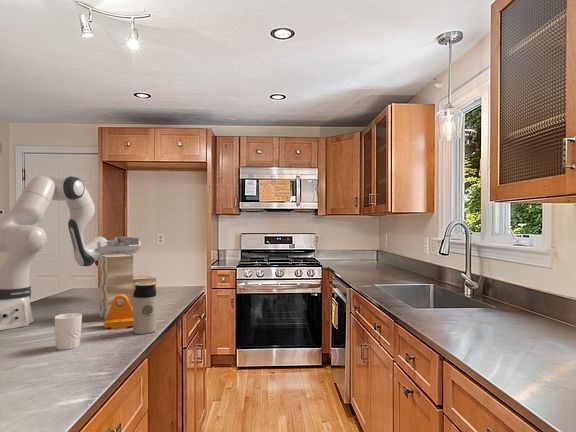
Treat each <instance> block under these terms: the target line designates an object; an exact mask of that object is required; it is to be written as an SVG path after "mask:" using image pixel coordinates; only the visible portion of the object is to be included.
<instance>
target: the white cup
mask: <svg viewBox="0 0 576 432" xmlns="http://www.w3.org/2000/svg"><path fill="white" fill-rule="evenodd" d="M82 321H83V314H82V313H79V312H78V313H76V312H75V313H74V312H72V313H62V314H58V315H55V316H54V333H55V334H54V335H55V348H56V349H57V350H60V351H62V350H63V351H64V350H73V349H76V348H79V347H80V345H81V336H82V327H83V326H82V323H83V322H82Z"/></svg>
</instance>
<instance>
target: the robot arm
mask: <svg viewBox="0 0 576 432" xmlns="http://www.w3.org/2000/svg"><path fill="white" fill-rule="evenodd" d="M52 201H60V202H61V201H65V203H66V205H67V207H68V210H69V219H68V223H67V226H68V232H69V235H70V239H71V243H72V247H73V252H74V253H73V254H74V259H75V262H76V263H77V265H79V266H80V267H81V266H82V267H91V266H92V265H93V264H95V263H96V261H97V260H99V261H100V260H101V255H117V254H126V255H131V256H133V257H134V256H135V254H136V253H137V252H138V251H139V250H140V249H141V246H142V245H141V241H140V240H139V245H127V244H121V243H116V242H118V241H119V238H116V237H115V238H114V239H110V238H109V237H106V236H104V235H97V236H96V237H95V238H93V239H91V240H90V241H89V242H87V243H85V238H84V234H83V232H84V229H85V228H86V226H87V224H88V223H89V222H90V220H92V219H93V217H94V215H95V211H96V208H95V204H94V201H93V199H92V196H91V195H90V193H89V190H87V188H86V186H85V184H84V182H83V181H82V179H80V178H79V177H76V176H73V175H72V176H59V175H55V176H45V175H36V176H35V177H33V178H32V179H31V180H30V181H29V182H28V183H27V184H26V186H25V187H24V188H23V190H22V191H21V194H20V196H19V197H18V199H17V200H16V202H15V203H14V205H13V206H12V208H11V209H10V210H9V211H8V212H7V213H6V214H5V215H4V216H3V217H2V218H0V253H7V257H6V260H5V261H4V262H3V263H1V264H0V331H4V330H11V329H16V328H17V329H18V328H21V327H27V326H29V325H30V324H32V323H33V322H34V321H35V320H34V316H33V314H32V308H31V298H32V297H31V296H32V294H31V293H32V290H31V289H32V287H31V285H30V283H31V282H30V279H31V268H32V264H33V261H34V259H35V257H36V256H37V255H38V253H39V252H41V251H42V250H43V249H44V248H45V246H46V245H47V241H48V235H47V232H46V230H45V229H44V228H43V227H39V226H37V225H36V224H38V223H39V222H40V221H41V220H42V219H43V218H44V216H45V214H46V212H47V210H48V208H49V206H50V205H51V202H52Z"/></svg>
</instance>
